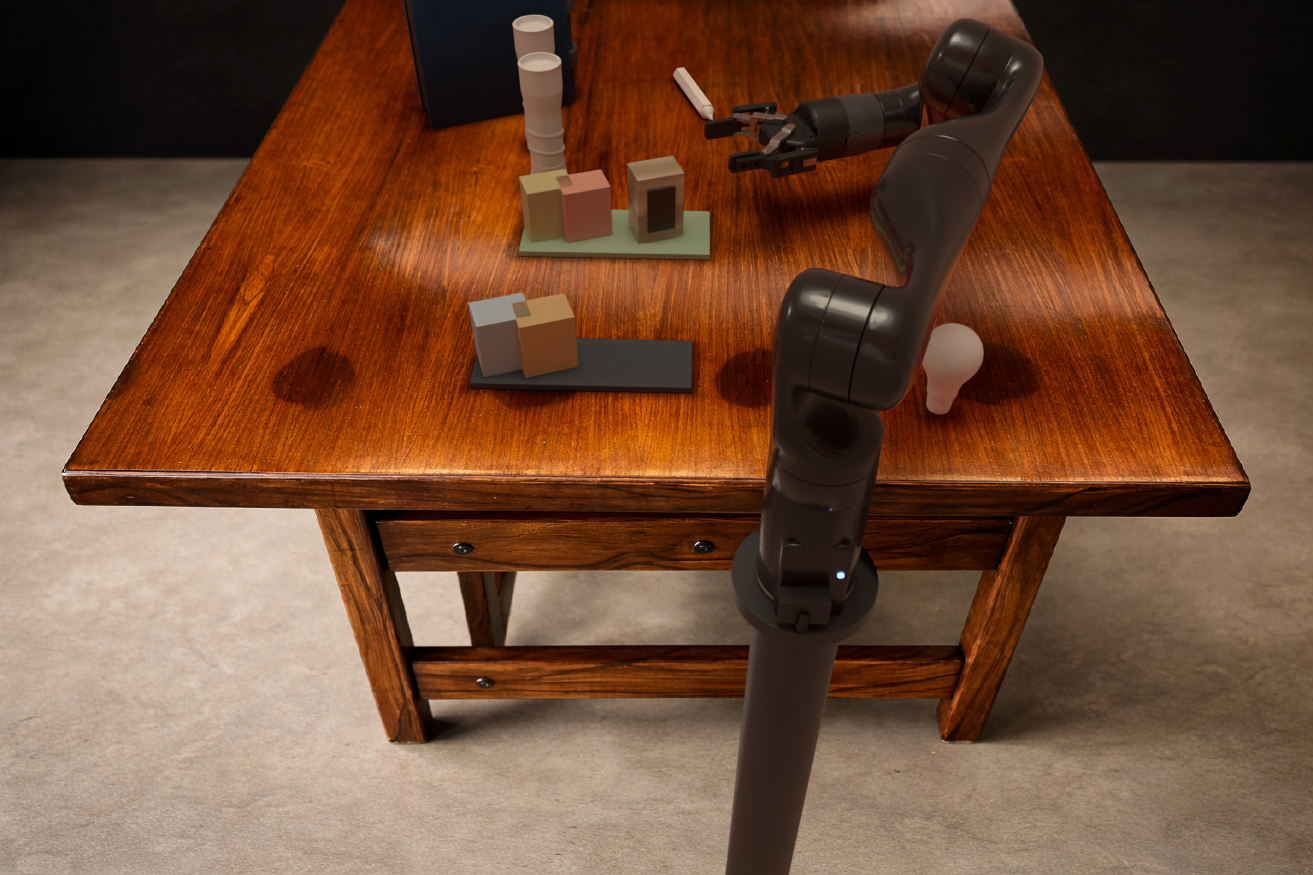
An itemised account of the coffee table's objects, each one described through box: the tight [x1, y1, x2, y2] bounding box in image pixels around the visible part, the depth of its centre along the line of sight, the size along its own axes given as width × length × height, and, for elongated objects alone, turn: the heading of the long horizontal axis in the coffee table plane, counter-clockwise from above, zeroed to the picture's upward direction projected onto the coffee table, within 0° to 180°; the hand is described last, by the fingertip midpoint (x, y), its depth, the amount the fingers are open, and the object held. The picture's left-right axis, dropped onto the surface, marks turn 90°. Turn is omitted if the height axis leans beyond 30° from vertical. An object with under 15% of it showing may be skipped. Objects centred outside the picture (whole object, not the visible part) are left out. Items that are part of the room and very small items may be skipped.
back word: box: [518, 168, 711, 261], centre depth 129 cm, size 10×24×8 cm, turn 88°
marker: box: [672, 66, 716, 121], centre depth 157 cm, size 3×2×16 cm
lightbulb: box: [921, 322, 985, 415], centre depth 104 cm, size 6×6×11 cm
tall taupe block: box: [626, 155, 685, 244], centre depth 128 cm, size 5×6×9 cm
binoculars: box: [512, 15, 568, 175], centre depth 138 cm, size 17×5×18 cm, turn 9°
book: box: [402, 0, 579, 131], centre depth 148 cm, size 24×9×30 cm, turn 111°
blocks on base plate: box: [467, 292, 693, 394], centre depth 111 cm, size 8×24×8 cm, turn 88°
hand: (717, 147), depth 124 cm, fingers open, 8 cm apart
